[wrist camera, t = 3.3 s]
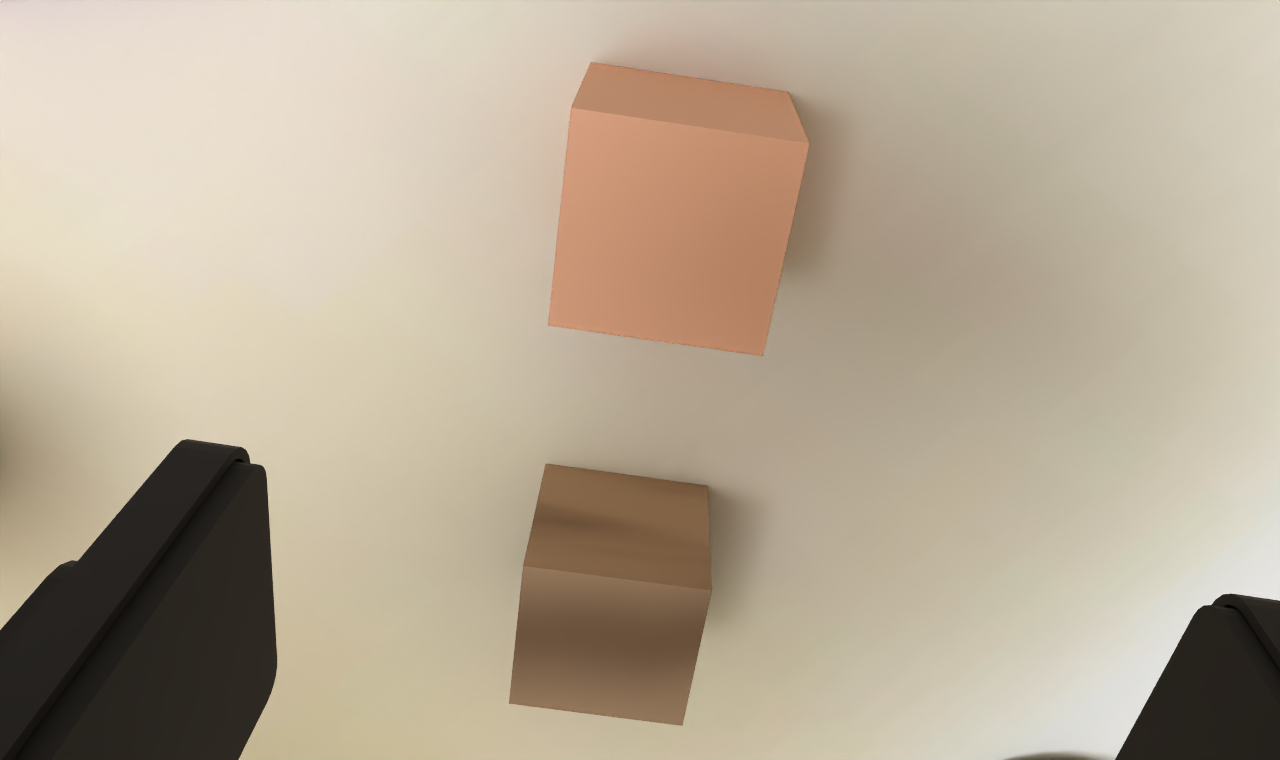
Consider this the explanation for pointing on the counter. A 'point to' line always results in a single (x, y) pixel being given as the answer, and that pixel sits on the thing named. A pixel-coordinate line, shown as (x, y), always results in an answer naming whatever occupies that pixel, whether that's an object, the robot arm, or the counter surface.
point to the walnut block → (613, 595)
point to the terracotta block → (676, 208)
